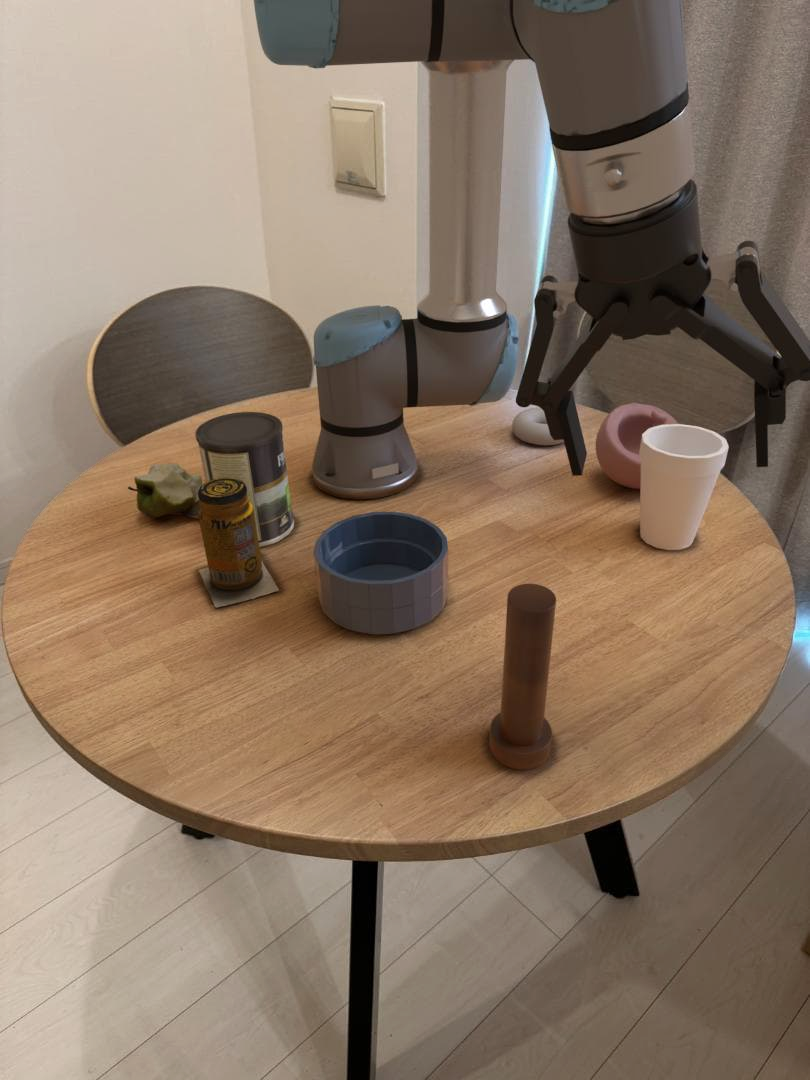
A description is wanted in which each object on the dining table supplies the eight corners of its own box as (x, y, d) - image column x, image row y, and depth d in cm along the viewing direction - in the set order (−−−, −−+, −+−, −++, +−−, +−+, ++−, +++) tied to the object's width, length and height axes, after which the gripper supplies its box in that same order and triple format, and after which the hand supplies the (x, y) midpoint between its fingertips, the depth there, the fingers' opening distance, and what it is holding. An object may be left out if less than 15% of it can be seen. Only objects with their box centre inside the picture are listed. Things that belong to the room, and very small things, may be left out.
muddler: (486, 724, 66) (493, 578, 57) (544, 722, 66) (559, 576, 57) (493, 771, 61) (501, 620, 53) (555, 769, 61) (573, 617, 53)
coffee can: (287, 503, 101) (275, 406, 94) (300, 541, 93) (288, 438, 85) (211, 515, 99) (192, 417, 91) (217, 555, 91) (197, 451, 83)
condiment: (258, 555, 90) (244, 467, 84) (279, 591, 84) (266, 499, 77) (198, 571, 88) (179, 482, 81) (215, 610, 81) (196, 516, 75)
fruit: (152, 543, 96) (125, 490, 92) (144, 516, 103) (119, 466, 99) (219, 515, 98) (196, 462, 94) (206, 491, 106) (184, 441, 101)
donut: (515, 450, 114) (580, 448, 113) (515, 430, 112) (582, 427, 112) (508, 424, 122) (569, 422, 122) (508, 405, 120) (570, 402, 120)
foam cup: (710, 560, 87) (734, 461, 80) (629, 553, 88) (645, 455, 82) (700, 520, 95) (720, 426, 88) (625, 514, 96) (640, 421, 89)
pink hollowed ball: (627, 512, 97) (639, 431, 91) (574, 474, 106) (582, 399, 100) (698, 492, 101) (715, 414, 95) (641, 458, 110) (653, 385, 104)
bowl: (325, 563, 88) (320, 513, 85) (443, 560, 88) (443, 509, 85) (314, 640, 76) (308, 585, 73) (451, 636, 76) (452, 581, 73)
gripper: (422, 263, 47) (504, 498, 61) (881, 173, 36) (854, 486, 50) (452, 209, 52) (523, 439, 66) (869, 114, 41) (847, 416, 55)
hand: (666, 460), depth 58 cm, fingers open, 13 cm apart
